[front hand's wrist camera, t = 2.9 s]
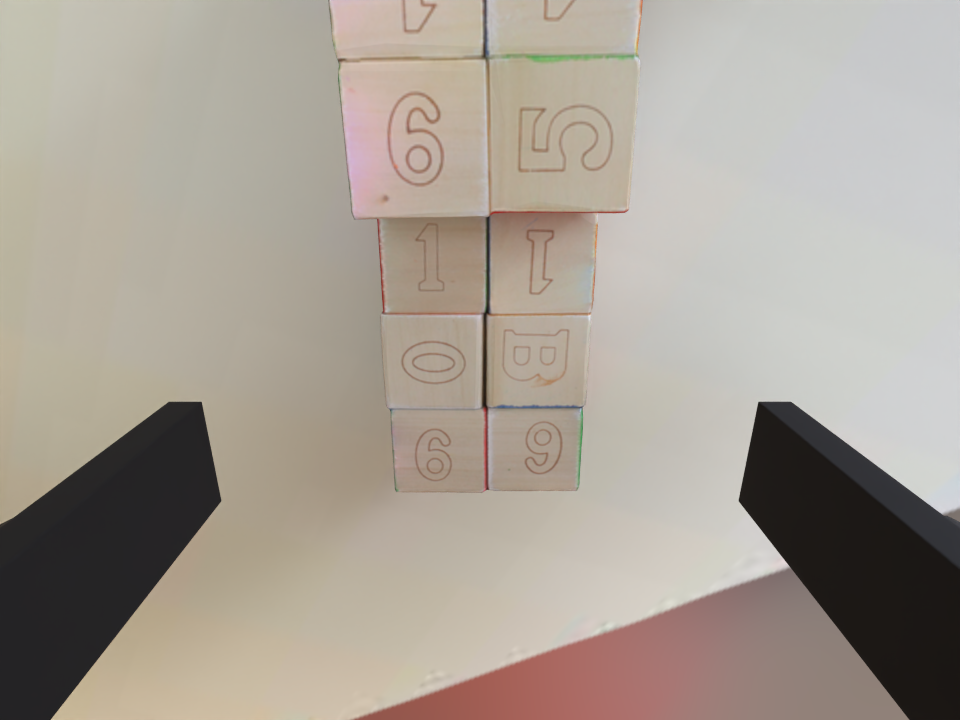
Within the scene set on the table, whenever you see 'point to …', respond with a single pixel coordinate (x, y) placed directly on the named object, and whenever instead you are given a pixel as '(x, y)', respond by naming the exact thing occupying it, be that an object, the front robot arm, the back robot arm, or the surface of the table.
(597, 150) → the stack of blocks
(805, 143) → the table surface
